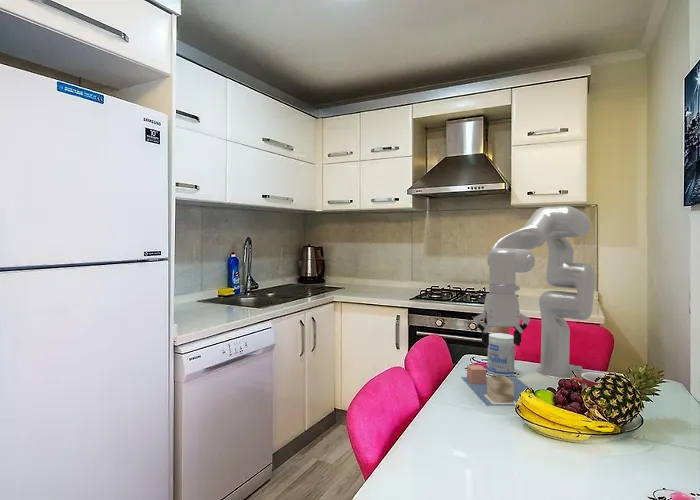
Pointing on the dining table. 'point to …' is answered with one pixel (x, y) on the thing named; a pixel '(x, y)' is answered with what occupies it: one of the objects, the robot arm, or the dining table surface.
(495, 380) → the beech block
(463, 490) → the dining table surface
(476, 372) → the terracotta block
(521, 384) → the board
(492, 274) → the robot arm
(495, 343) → the supplement tub
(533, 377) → the dining table surface
